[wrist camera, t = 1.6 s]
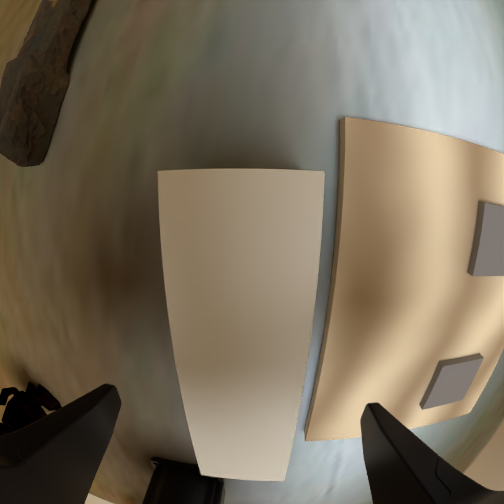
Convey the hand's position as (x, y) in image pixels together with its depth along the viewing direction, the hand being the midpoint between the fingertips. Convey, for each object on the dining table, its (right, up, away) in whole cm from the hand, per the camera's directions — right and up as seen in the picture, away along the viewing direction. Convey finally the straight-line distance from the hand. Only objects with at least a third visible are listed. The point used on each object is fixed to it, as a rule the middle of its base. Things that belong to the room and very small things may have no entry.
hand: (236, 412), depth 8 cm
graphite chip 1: (+14, +6, +3) cm, 16 cm away
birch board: (+12, +2, +6) cm, 13 cm away
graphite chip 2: (+14, -3, +6) cm, 16 cm away
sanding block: (0, +2, +7) cm, 7 cm away
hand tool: (-10, +20, +2) cm, 22 cm away
